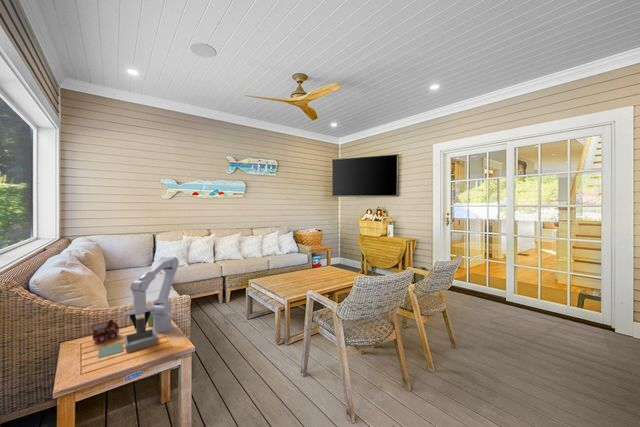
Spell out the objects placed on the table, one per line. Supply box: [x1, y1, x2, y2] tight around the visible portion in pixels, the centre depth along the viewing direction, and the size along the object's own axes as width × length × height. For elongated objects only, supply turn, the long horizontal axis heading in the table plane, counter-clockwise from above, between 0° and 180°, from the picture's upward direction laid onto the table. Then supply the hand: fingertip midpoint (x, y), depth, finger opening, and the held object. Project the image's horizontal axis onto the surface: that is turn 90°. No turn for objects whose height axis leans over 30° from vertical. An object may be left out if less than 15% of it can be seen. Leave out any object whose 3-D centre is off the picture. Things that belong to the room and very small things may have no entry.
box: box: [135, 313, 147, 334], centre depth 151 cm, size 4×9×7 cm, turn 38°
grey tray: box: [124, 328, 158, 353], centre depth 151 cm, size 14×23×4 cm, turn 38°
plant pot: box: [147, 314, 153, 327], centre depth 175 cm, size 9×9×9 cm
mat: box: [97, 341, 124, 359], centre depth 143 cm, size 10×12×1 cm
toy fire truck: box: [90, 319, 120, 344], centre depth 155 cm, size 7×12×10 cm, turn 142°
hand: (140, 326), depth 151 cm, fingers closed on box, 4 cm apart
